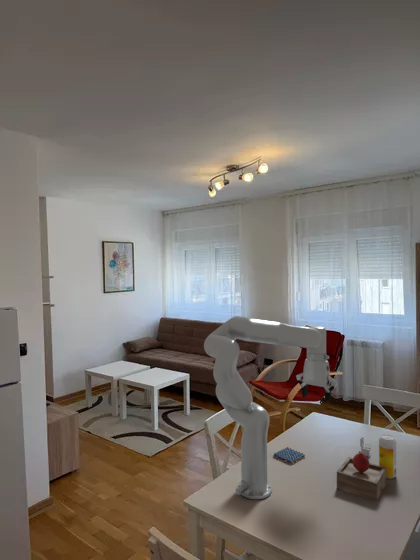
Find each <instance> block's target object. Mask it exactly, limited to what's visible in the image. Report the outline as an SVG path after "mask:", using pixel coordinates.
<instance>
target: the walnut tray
mask: <svg viewBox="0 0 420 560" xmlns="http://www.w3.org/2000/svg"><path fill="white" fill-rule="evenodd" d="M353 458H354V457H353ZM353 458H352V457H347V458H346V459H345V461H344V462H343V463H342V464H341V465H340V467H339V468H338V469H337V470H336V489H338V490H341V491H345V492H347V493H350V494H353V495H356V496H360V497H362V498H365V499H368V500H371V501H375V502H377V501H379V498H380V497H381V495H382V493H383V491H384V489H385V486H386V484H387V478H386V467H383V466H379V464H375V463H371V462H369V468H368V470H367V471H365V472H363V473H360V472H359V471H358V470H357V469H356V468H355V467H354V466H353Z"/></svg>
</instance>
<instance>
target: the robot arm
mask: <svg viewBox="0 0 420 560" xmlns="http://www.w3.org/2000/svg"><path fill="white" fill-rule="evenodd" d="M236 340H241V341H244V342H251V343H260V344H261V343H263V344H270V345H277V346H289V347H297V348H305V349H306V359H305V360H304V363H303V364H304V365H303V372H301V373H299V374H297V375H295V377H296V380H297V382H298V384H299V385H300V388H301V395H302V398H303V399H305V398H306V397H308V386H307V385H311V386H316V387H321V388H322V387H323V388H324V389H325V393H324V394H325V395H324V396H325V397H324V399H325V401H324V402H325V403H328V402H331V399H332V392H333V390H335V389H336V387H337V385H338V380H336V379H335V378H332V377H331V370H330V363H329V361H328V360H329V359H330V356H329V355H327V329H326V328H325V327H324V326H319V325H312V326H299V325H298V326H297V325H291V324H287V323H284V322H279V321H275V320H274V321H273V320H266V319H258V318H252V317H246V316H238V315H235V316H232V317H231V318H229V319H228V320H227V321H225V322H224V323H222V324H221V325H220V326H219V327H217V328H216V329H215V330H214V331H212V332H211V333H210V334H208V336H207V337H206V338H205V340H204V343H203V348H204V351H205V353H206V354H207V355H208V356H210V357H212V358H214V359H215V361H214V365H213V373H212V374H213V380H214V381H215V383H216V386H215V395H216V398H217V399H218V401H219V403H220V404H221V405H222V407H223V408H224V410H225V411H226V413H227V415H228V416H229V417H230V418H231V419H232V420H233V421H234V422H236V423H237V424H239V425H240V426H242V427H243V433H242V435H241V441H240V453H241V455H240V456H241V459H240V460H241V461H240V462H241V465H240V466H241V471H240V472H241V480H240V482H238V484H237V486H236V487H237V489H235V494H236V496H241V497H245V498H246V499H250V500H262V499H265V498H268V497H269V496H271V495H272V489H273V488H272V487H273V486H272V485H271V483H269V481H268V432H269V426H270V414H269V413H268V411H267V410H266V409H265V408H264V407H263V406H261V405H260V404H258V403H256V402H254V401H253V395H252V392H251V389H250V388H249V386H248V385H247V384H246V382H245V380H244V379H243V378H242V376H241V375H240V373H239V371H238V369H237V362H238V358H239V356H240V345H239V344H238V342H237V341H236ZM330 384H331V386H330Z"/></svg>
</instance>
